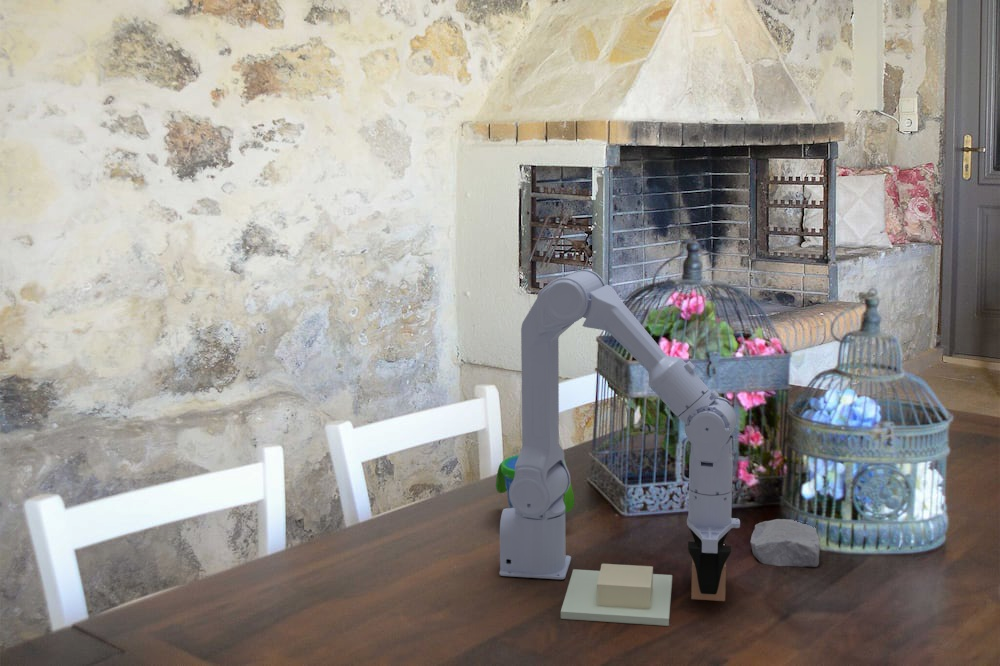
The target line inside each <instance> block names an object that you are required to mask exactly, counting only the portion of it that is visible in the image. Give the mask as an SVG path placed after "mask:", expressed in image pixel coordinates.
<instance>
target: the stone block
mask: <svg viewBox="0 0 1000 666" xmlns="http://www.w3.org/2000/svg"><path fill="white" fill-rule="evenodd" d="M797 521H798V520H795V521H794V519H787V518H786V519H785V518H782V519H781V518H776V519H771V520H765V521H762V522H759V523H756V524H755V525H754V529H753V532H752V533H751V537H750V546H751V550H752V555H753V556H754V557H755V558H756V560H758V562H759V563H761V564H763V565H770V566H776V567H802V568H804V567H805V568H807V567H810V568H817V567H818V566H819V564H820V551H821V549H820V537H819V535H818V533H817V532H818V531H817V527H816V528H815V527H814V528H813V527H812V526H810V525H807V524H802V523H800V522H797Z"/></svg>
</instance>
